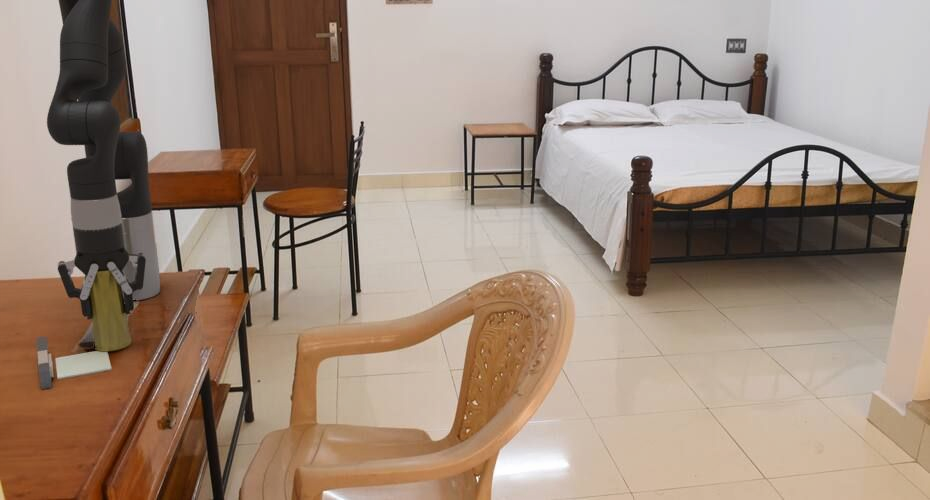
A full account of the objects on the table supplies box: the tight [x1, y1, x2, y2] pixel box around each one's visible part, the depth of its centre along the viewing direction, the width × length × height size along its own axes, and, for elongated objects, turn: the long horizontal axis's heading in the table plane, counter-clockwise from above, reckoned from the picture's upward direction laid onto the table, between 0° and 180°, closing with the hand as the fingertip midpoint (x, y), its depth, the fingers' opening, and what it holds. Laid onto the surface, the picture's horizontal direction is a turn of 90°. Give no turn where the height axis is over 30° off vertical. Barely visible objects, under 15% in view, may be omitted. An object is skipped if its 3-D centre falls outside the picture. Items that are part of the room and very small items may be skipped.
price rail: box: [35, 336, 55, 390], centre depth 131 cm, size 14×2×3 cm, turn 28°
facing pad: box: [55, 350, 113, 380], centre depth 133 cm, size 8×8×1 cm
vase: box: [89, 270, 132, 352], centre depth 138 cm, size 6×6×14 cm
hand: (109, 314), depth 138 cm, fingers closed on vase, 5 cm apart
